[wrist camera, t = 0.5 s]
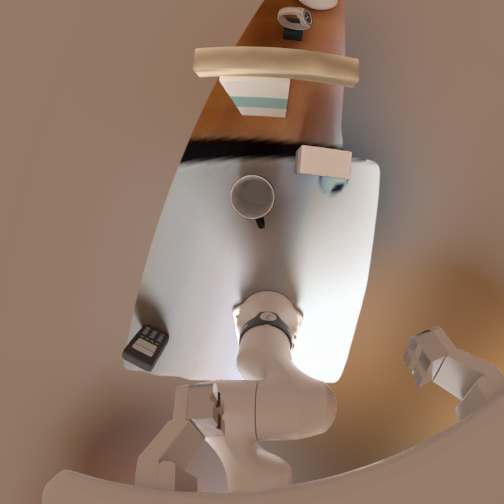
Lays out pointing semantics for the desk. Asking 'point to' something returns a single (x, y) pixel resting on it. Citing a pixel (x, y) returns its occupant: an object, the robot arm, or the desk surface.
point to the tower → (258, 94)
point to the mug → (252, 197)
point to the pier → (323, 162)
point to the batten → (277, 64)
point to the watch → (294, 22)
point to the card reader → (145, 348)
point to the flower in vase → (319, 4)
